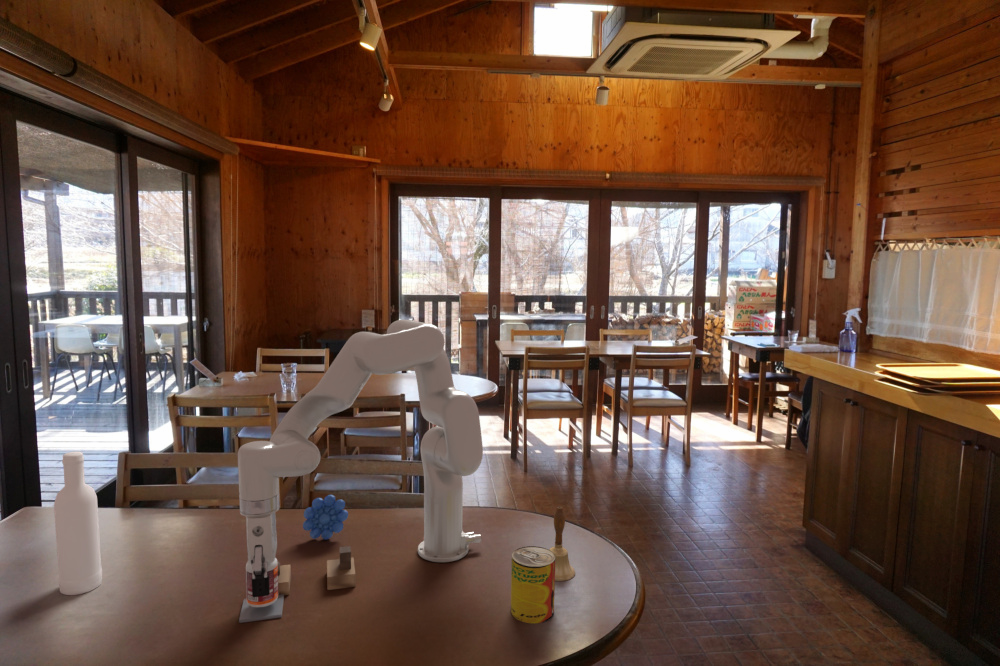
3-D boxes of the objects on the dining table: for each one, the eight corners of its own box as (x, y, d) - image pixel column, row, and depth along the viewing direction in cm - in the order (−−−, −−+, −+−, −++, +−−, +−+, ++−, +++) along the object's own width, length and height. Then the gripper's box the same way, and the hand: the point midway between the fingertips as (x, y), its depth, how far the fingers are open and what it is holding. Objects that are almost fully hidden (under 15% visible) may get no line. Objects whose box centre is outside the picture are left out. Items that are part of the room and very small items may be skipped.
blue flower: (351, 531, 166) (351, 488, 164) (346, 543, 159) (346, 498, 158) (307, 532, 165) (306, 488, 163) (300, 543, 158) (299, 498, 157)
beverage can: (541, 628, 123) (542, 571, 122) (502, 614, 128) (503, 558, 126) (561, 607, 130) (562, 553, 129) (524, 595, 135) (525, 542, 134)
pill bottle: (281, 603, 127) (280, 550, 126) (249, 611, 124) (248, 557, 123) (274, 589, 132) (273, 539, 131) (243, 597, 129) (242, 545, 128)
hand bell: (582, 572, 146) (584, 507, 144) (560, 585, 140) (562, 517, 138) (554, 560, 151) (556, 497, 149) (532, 572, 145) (533, 506, 143)
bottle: (98, 573, 142) (90, 445, 138) (106, 586, 136) (99, 453, 133) (55, 585, 136) (46, 453, 133) (63, 600, 131) (53, 461, 127)
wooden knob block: (353, 569, 145) (353, 540, 145) (355, 586, 138) (355, 556, 137) (262, 580, 140) (261, 550, 139) (259, 598, 132) (258, 567, 131)
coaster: (283, 596, 133) (283, 594, 133) (281, 617, 125) (281, 614, 125) (243, 601, 131) (243, 599, 131) (239, 622, 123) (238, 620, 123)
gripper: (276, 518, 118) (279, 606, 121) (281, 486, 135) (284, 564, 137) (233, 522, 116) (237, 612, 118) (244, 489, 133) (248, 569, 135)
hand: (262, 586), depth 128 cm, fingers closed on pill bottle, 6 cm apart
